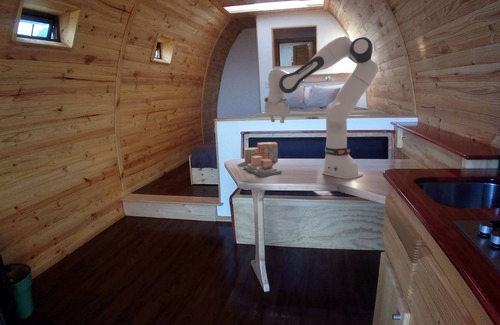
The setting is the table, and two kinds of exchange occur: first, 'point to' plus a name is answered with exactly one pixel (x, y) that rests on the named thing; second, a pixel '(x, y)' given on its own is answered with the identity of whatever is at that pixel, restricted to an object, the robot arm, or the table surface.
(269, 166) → the terracotta block
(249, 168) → the assembly plate
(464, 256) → the table surface
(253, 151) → the stack of blocks
